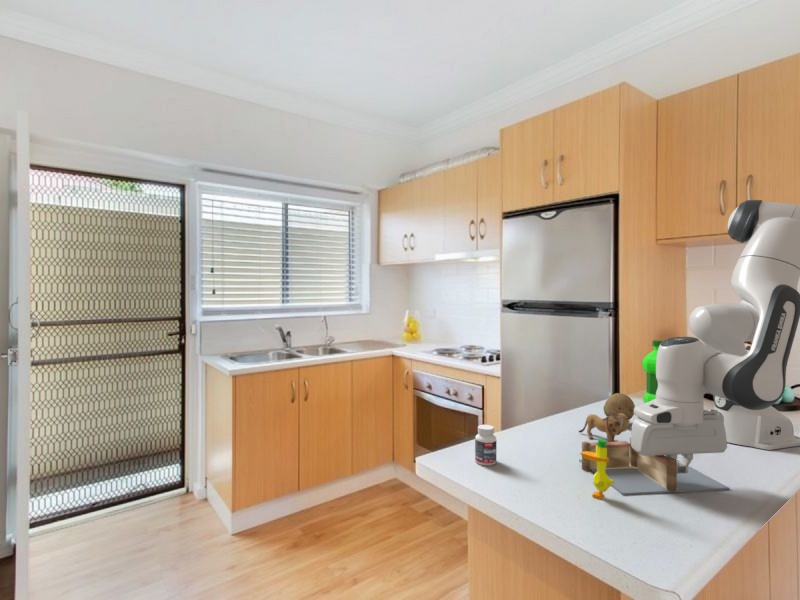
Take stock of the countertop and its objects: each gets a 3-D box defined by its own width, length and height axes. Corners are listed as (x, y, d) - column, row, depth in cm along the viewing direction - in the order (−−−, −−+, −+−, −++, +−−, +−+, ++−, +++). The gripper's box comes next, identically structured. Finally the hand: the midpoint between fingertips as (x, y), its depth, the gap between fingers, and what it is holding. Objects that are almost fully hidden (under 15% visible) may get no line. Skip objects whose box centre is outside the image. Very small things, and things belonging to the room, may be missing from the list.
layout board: (669, 457, 109) (669, 455, 109) (729, 489, 91) (729, 487, 91) (579, 461, 107) (579, 459, 107) (622, 495, 89) (622, 492, 89)
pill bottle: (484, 467, 103) (483, 431, 103) (471, 460, 108) (470, 425, 108) (500, 463, 106) (500, 428, 106) (487, 456, 110) (487, 422, 110)
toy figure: (578, 494, 89) (578, 437, 89) (583, 488, 92) (583, 433, 92) (612, 504, 85) (613, 445, 85) (617, 498, 88) (617, 440, 87)
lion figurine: (632, 445, 117) (632, 413, 117) (623, 450, 114) (623, 416, 114) (583, 432, 129) (583, 402, 129) (573, 435, 126) (573, 405, 126)
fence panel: (636, 467, 101) (636, 441, 101) (644, 467, 101) (644, 440, 101) (669, 491, 89) (670, 461, 89) (678, 491, 89) (678, 460, 89)
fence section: (637, 465, 104) (637, 436, 104) (643, 469, 102) (643, 440, 102) (579, 467, 103) (579, 438, 103) (584, 471, 100) (584, 442, 100)
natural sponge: (637, 430, 130) (637, 397, 130) (605, 427, 133) (605, 395, 133) (632, 421, 139) (632, 391, 139) (602, 419, 142) (602, 389, 142)
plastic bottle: (640, 411, 150) (640, 341, 150) (646, 405, 158) (646, 338, 158) (673, 416, 144) (673, 343, 143) (678, 410, 152) (678, 340, 151)
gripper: (711, 405, 98) (711, 464, 98) (626, 408, 96) (626, 468, 96) (735, 413, 91) (734, 476, 92) (644, 416, 90) (644, 480, 90)
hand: (678, 472), depth 94 cm, fingers closed
